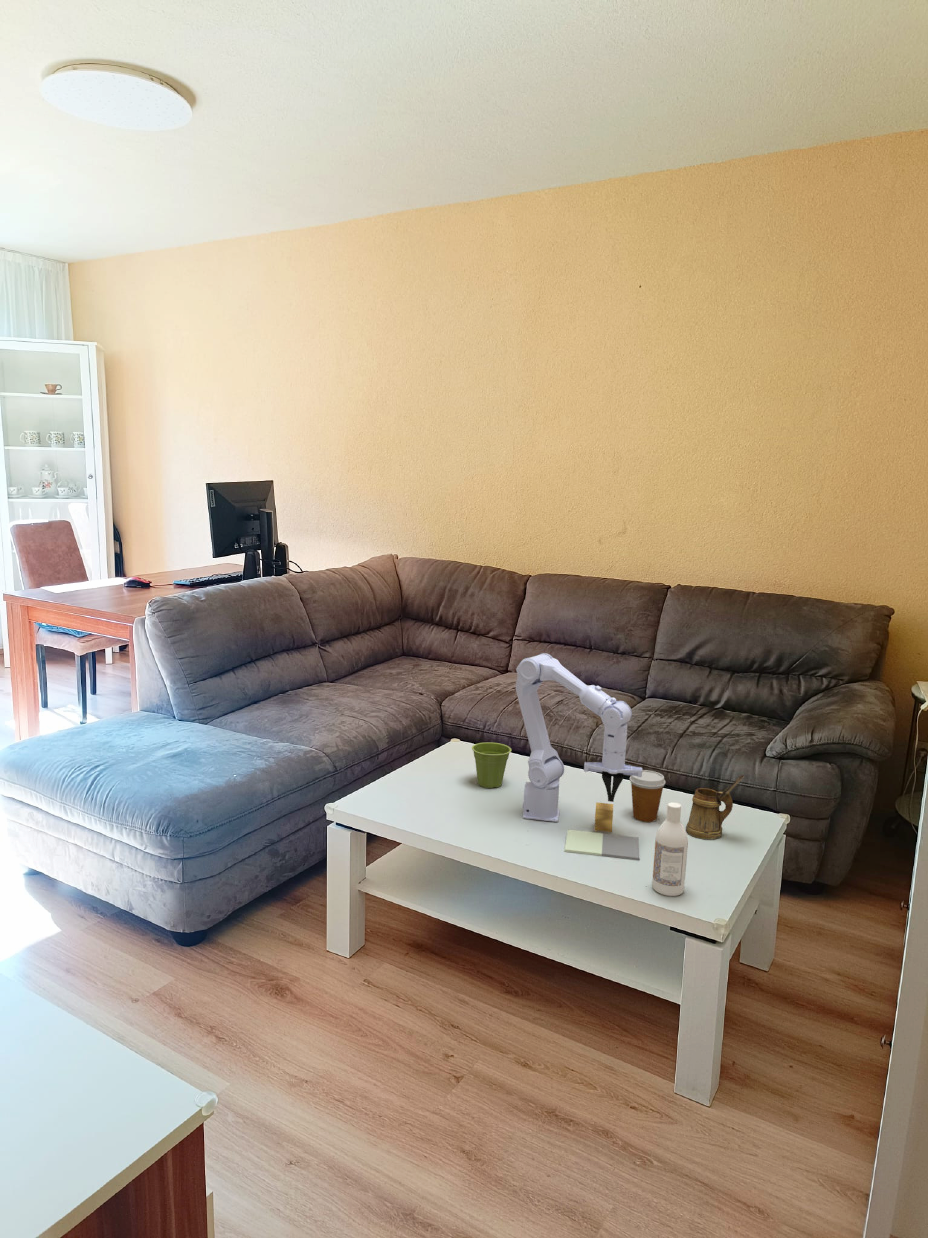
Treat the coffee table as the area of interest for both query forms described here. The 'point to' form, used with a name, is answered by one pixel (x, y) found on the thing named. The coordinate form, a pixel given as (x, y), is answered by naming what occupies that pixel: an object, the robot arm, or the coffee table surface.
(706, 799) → the wooden mug
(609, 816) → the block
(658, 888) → the bath foam
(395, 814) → the coffee table surface
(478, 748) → the plant pot
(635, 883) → the coffee table surface
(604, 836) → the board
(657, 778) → the disposable coffee cup
